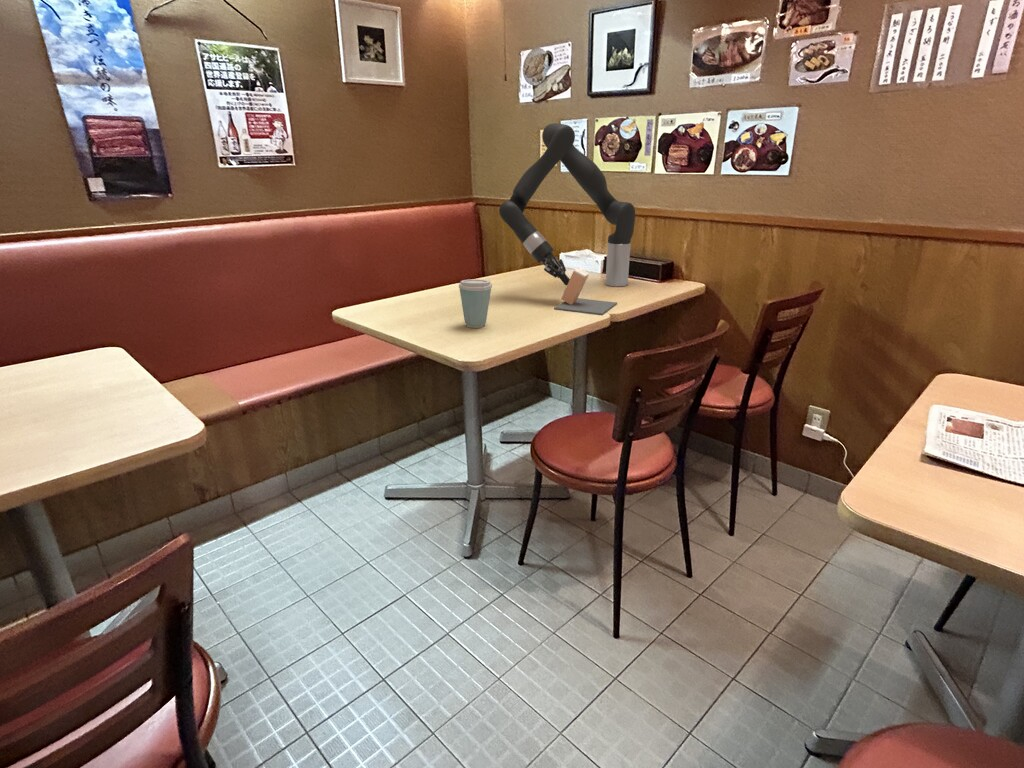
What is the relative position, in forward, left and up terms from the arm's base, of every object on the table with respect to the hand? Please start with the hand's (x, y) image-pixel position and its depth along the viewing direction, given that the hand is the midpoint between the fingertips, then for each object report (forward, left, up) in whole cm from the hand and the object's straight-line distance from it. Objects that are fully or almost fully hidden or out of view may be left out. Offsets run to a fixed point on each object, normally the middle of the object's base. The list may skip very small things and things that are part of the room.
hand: (568, 283), depth 213 cm
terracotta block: (0, 0, -6) cm, 6 cm away
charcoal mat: (0, +7, -8) cm, 11 cm away
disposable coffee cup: (+38, -17, -8) cm, 42 cm away
